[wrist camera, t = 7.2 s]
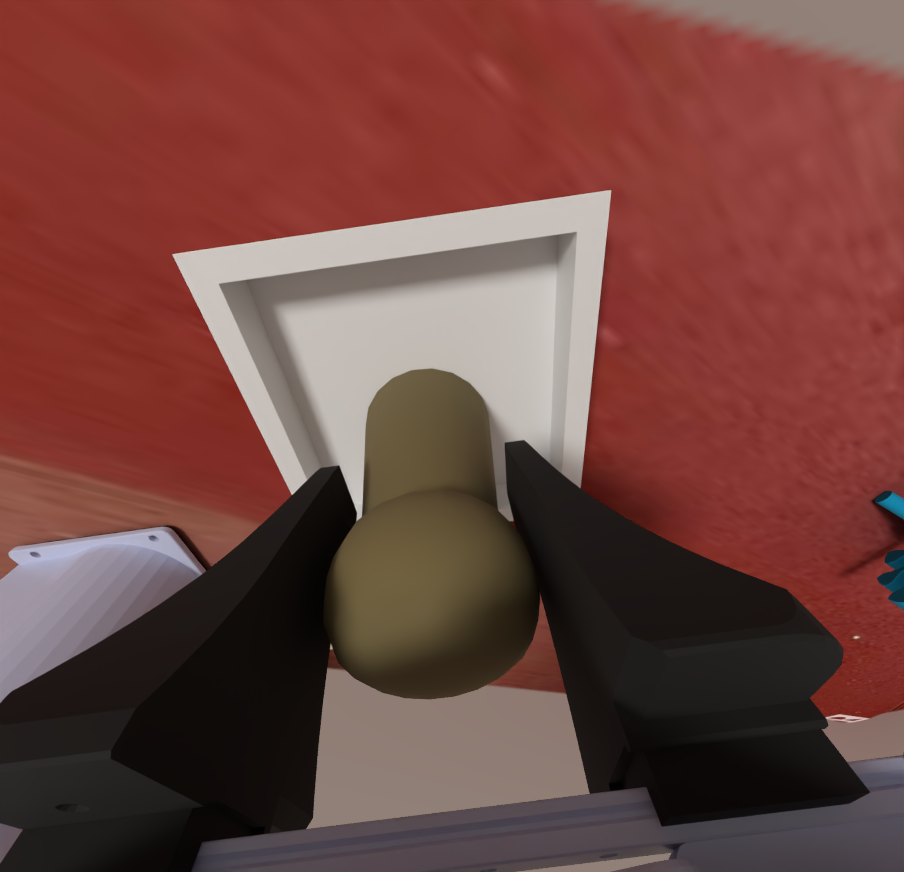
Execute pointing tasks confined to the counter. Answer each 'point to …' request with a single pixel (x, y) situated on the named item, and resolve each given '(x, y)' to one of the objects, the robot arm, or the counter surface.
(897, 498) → the gear
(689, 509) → the counter surface
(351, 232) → the tray
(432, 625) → the cork
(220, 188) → the counter surface
